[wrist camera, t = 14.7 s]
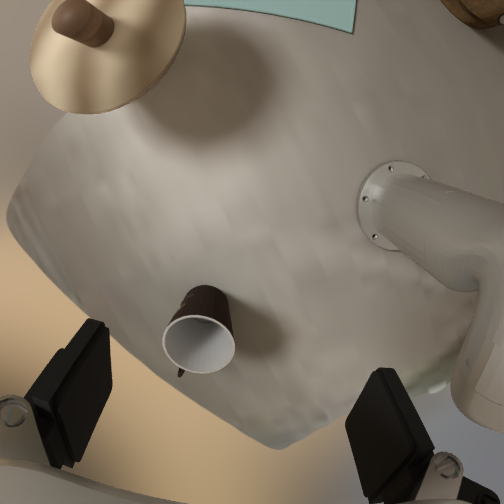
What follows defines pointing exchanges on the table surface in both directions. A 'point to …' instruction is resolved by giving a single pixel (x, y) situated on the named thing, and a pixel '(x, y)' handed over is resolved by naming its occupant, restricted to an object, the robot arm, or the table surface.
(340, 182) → the table surface
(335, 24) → the rubber mat
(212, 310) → the coffee mug
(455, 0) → the wooden container
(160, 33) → the maple lid
